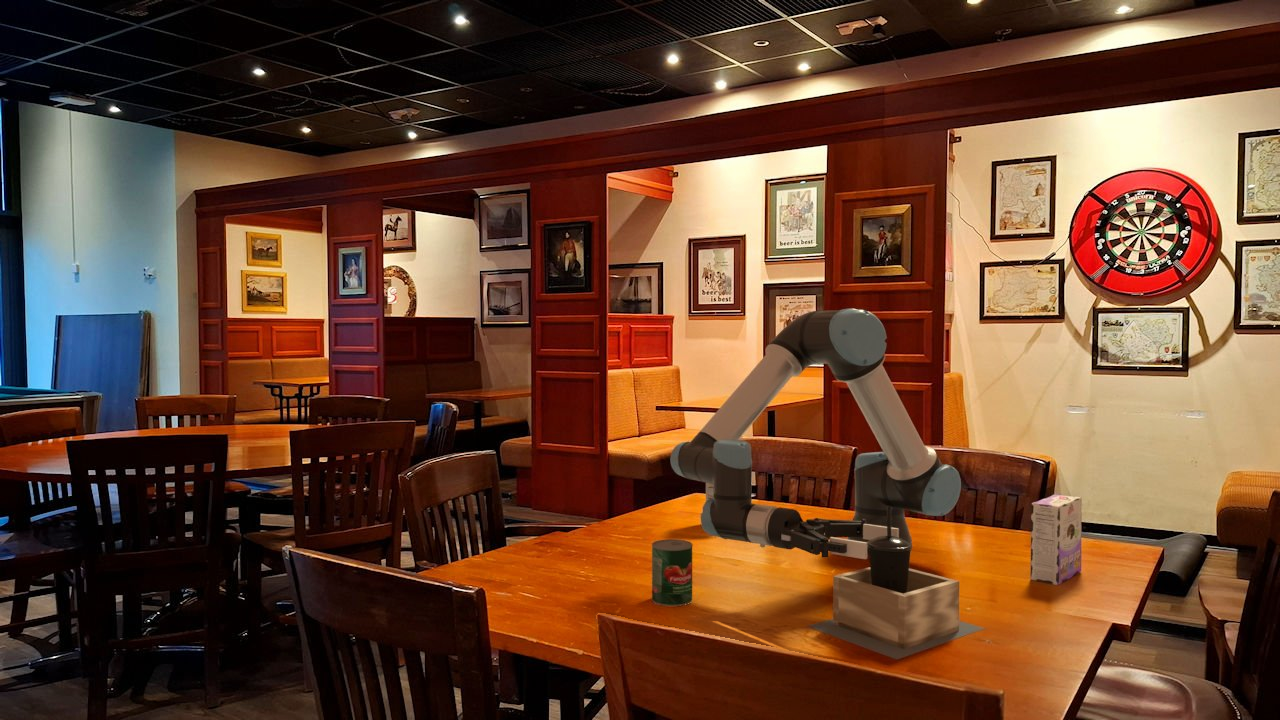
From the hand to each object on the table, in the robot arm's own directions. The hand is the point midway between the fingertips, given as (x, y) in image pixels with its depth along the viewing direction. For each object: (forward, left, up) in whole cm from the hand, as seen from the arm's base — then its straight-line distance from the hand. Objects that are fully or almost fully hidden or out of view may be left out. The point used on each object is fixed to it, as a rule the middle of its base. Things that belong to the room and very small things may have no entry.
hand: (883, 543), depth 148 cm
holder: (-1, +2, -14) cm, 14 cm away
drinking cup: (-1, +1, -14) cm, 14 cm away
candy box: (-56, +1, -15) cm, 58 cm away
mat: (-1, +2, -15) cm, 15 cm away
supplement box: (-31, -77, -15) cm, 84 cm away
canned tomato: (+20, -34, -15) cm, 42 cm away
